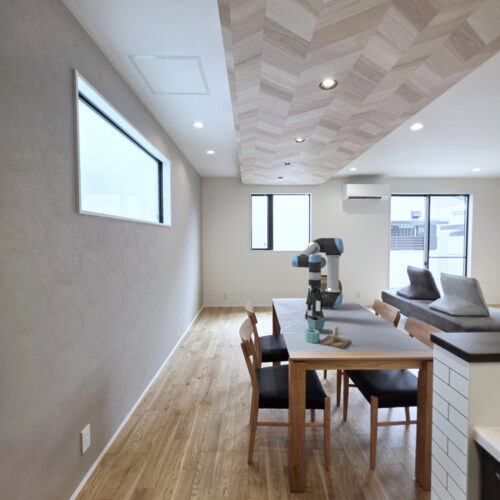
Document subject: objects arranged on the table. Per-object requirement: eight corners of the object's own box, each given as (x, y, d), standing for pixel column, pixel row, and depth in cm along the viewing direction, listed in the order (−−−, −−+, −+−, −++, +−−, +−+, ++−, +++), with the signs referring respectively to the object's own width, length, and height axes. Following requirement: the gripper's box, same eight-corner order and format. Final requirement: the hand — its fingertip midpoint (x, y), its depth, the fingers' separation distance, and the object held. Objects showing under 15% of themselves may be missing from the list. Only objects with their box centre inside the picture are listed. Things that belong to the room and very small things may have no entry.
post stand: (320, 343, 163) (320, 328, 162) (328, 337, 174) (328, 323, 174) (343, 349, 155) (344, 333, 154) (350, 341, 166) (350, 327, 166)
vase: (308, 304, 263) (309, 274, 263) (334, 304, 266) (335, 274, 265) (318, 311, 237) (318, 277, 237) (346, 311, 240) (347, 277, 239)
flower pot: (315, 333, 180) (315, 320, 180) (306, 330, 188) (306, 317, 188) (325, 332, 184) (325, 319, 184) (316, 328, 192) (316, 315, 192)
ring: (303, 341, 167) (303, 331, 167) (308, 337, 173) (308, 328, 173) (315, 344, 162) (316, 334, 162) (320, 340, 169) (320, 330, 169)
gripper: (312, 281, 155) (312, 318, 155) (327, 277, 175) (326, 310, 176) (300, 280, 159) (300, 316, 159) (316, 276, 179) (315, 308, 180)
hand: (314, 313), depth 168 cm, fingers open, 13 cm apart
